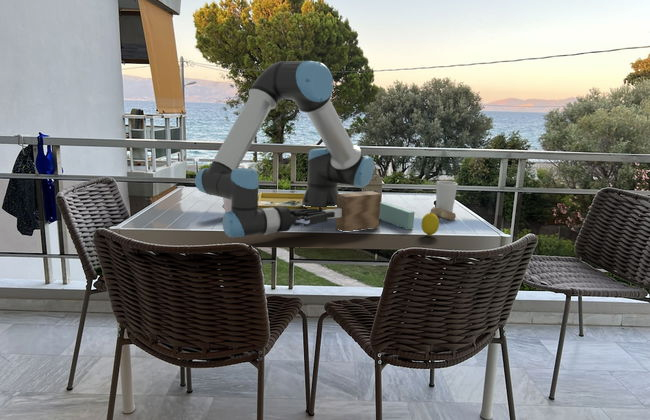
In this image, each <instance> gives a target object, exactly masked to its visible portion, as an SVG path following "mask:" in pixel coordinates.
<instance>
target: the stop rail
mask: <svg viewBox="0 0 650 420" xmlns="http://www.w3.org/2000/svg"><path fill="white" fill-rule="evenodd" d="M380 219H381V220H380ZM379 220H380V221H383V222H386V223H388V222H389V224H391V223H392V224H391V225H394V224H395V225H394V226H396V225H398V226H397V227H399V226H401V227H404V228H407V229H410V230H413V229H414V223H415V211H413V210H411V209H407V208H403V207H401V206H398V205H394V204H392V203H389V202H386V201H380V215H379ZM401 227H400V228H401ZM404 228H403V229H404ZM412 228H413V229H412ZM407 229H406V230H407Z"/></svg>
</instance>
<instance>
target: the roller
mask: <svg viewBox="0 0 650 420" xmlns="http://www.w3.org/2000/svg"><path fill="white" fill-rule="evenodd" d="M430 212H432V213H433V214H435V215H436V216H437V217H438V218H443V219H444V220H448V221H455V219H456V217H457V215H456V213H455V212H449V211H446V210H443V209H439V208H436V206H434V207H433V206H432V207H431V209H430Z"/></svg>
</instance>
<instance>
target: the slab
mask: <svg viewBox="0 0 650 420" xmlns="http://www.w3.org/2000/svg"><path fill="white" fill-rule="evenodd" d="M381 199H382V193H380V192H376V191H373V190H367V191H357V192H356V191H355V192H354V191H353V192H344V193H339V194H337V208H341V209H342V217H339V218H335V230H336V229H339V230H342V231H353V230H361V229H368V228H377V227H379V226H380V225H379V223H380V219H379V215H380V202H382V201H381ZM379 228H380V227H379Z"/></svg>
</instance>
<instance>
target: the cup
mask: <svg viewBox="0 0 650 420" xmlns="http://www.w3.org/2000/svg"><path fill="white" fill-rule="evenodd" d="M435 183H436V186H435V187H436V188H435V189H436V193H435V197H436V199H435V207H436V208H439V209H443V210H446V211H449V212H452V213H454V212H453V211H454V210H453V209H454V205H455V200H456V195H457V190H458V183H457V182H454V181H448V180H438V181H436V182H435Z"/></svg>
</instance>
